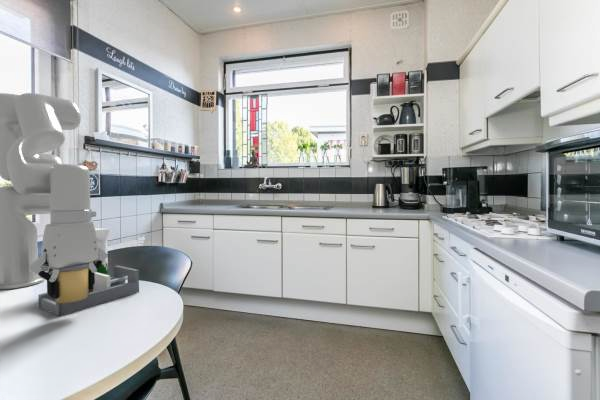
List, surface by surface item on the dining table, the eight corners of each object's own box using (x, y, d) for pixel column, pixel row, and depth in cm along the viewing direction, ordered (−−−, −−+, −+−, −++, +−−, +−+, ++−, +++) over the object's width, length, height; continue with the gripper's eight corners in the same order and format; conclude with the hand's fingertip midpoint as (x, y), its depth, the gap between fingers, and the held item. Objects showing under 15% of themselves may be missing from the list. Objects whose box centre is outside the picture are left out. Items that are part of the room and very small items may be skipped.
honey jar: (48, 298, 71) (48, 265, 71) (80, 290, 77) (80, 259, 77) (62, 305, 68) (62, 269, 68) (94, 296, 74) (94, 263, 73)
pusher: (92, 293, 88) (92, 272, 88) (121, 285, 95) (120, 266, 95) (106, 298, 84) (106, 276, 84) (135, 289, 91) (135, 269, 91)
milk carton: (66, 290, 92) (64, 224, 92) (93, 281, 101) (92, 221, 100) (88, 292, 90) (87, 224, 89) (115, 283, 99) (113, 221, 98)
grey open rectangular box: (38, 307, 79) (37, 282, 79) (118, 285, 96) (117, 265, 96) (58, 315, 73) (57, 288, 73) (139, 291, 90) (138, 269, 90)
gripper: (101, 213, 81) (102, 280, 82) (16, 219, 66) (18, 301, 67) (117, 215, 77) (118, 285, 78) (30, 222, 62) (32, 308, 63)
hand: (72, 292), depth 73 cm, fingers closed on honey jar, 6 cm apart
